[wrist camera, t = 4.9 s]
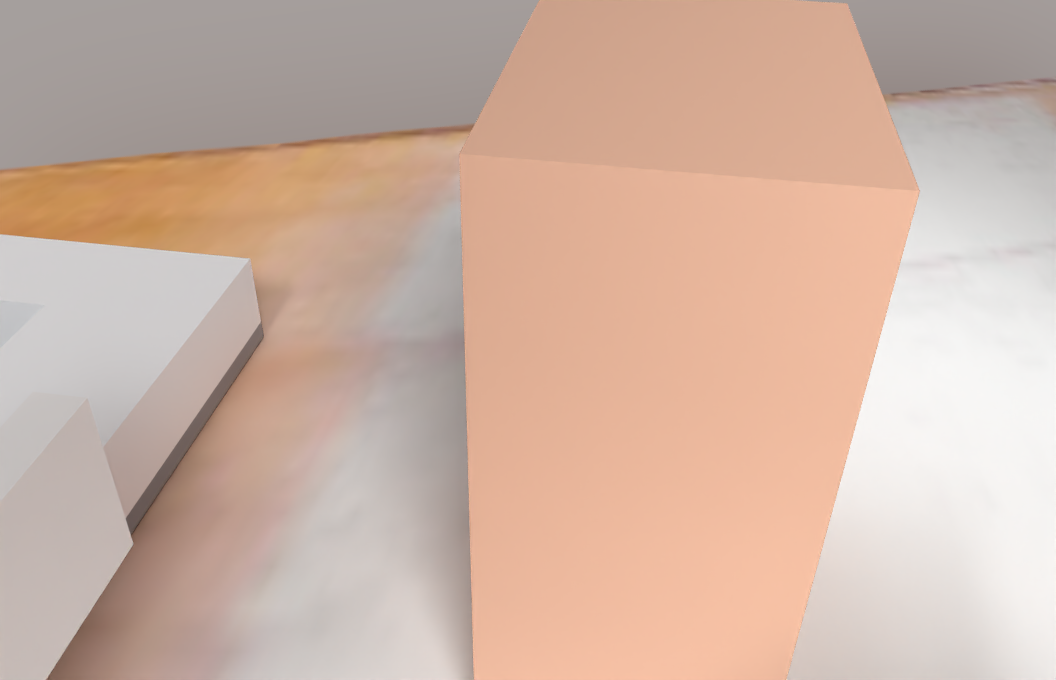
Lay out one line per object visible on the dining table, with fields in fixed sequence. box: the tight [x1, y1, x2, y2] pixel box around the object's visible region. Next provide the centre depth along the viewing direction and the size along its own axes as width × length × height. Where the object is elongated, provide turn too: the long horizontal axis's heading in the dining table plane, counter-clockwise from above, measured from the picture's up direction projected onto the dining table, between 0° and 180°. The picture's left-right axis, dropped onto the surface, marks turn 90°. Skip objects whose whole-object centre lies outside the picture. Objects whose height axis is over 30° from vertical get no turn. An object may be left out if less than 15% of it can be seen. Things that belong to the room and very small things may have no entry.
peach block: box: [459, 0, 920, 680], centre depth 17 cm, size 5×7×11 cm
